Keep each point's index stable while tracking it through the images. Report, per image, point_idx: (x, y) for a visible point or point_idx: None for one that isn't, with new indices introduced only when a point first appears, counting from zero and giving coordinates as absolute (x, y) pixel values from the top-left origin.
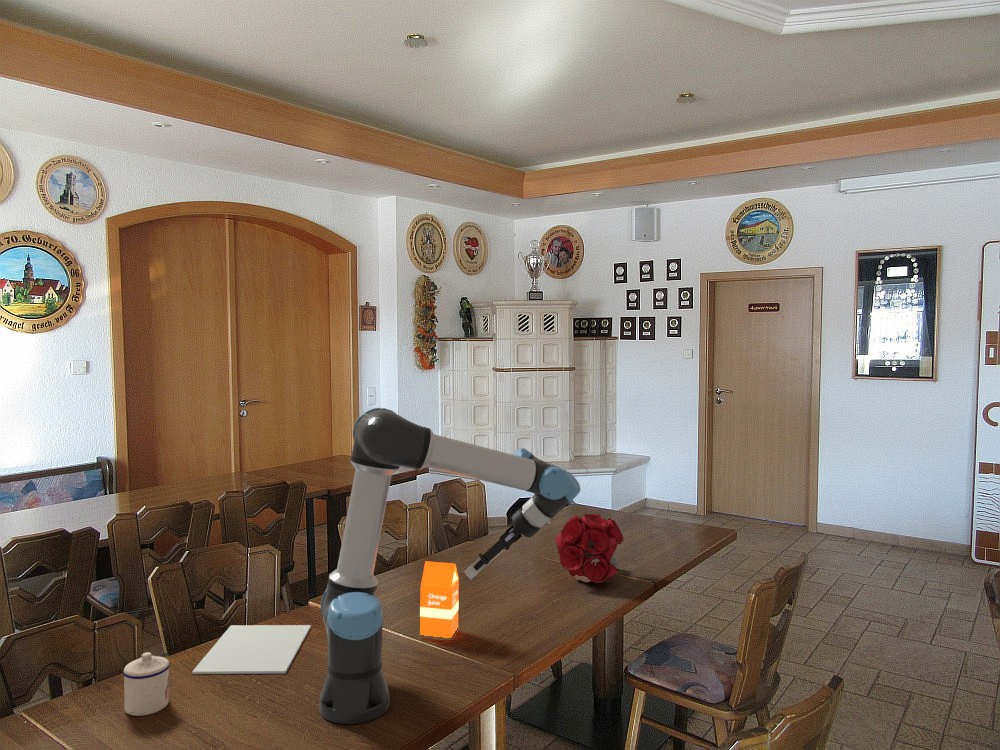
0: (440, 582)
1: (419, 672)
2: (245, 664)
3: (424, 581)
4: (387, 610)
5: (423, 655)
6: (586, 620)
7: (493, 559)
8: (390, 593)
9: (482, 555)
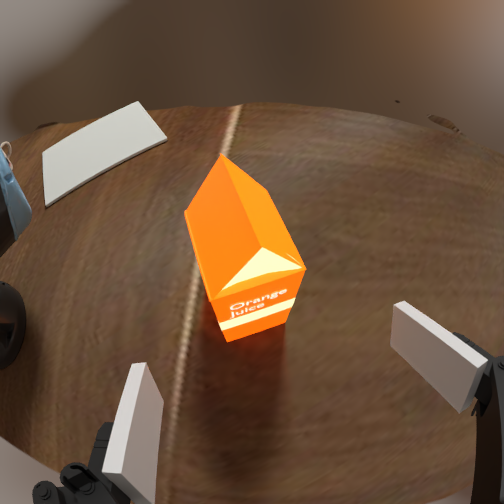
0: (207, 253)
1: (85, 360)
2: (56, 167)
3: (192, 210)
4: (280, 170)
5: (141, 331)
6: (464, 475)
7: (412, 366)
8: (335, 143)
9: (34, 502)
